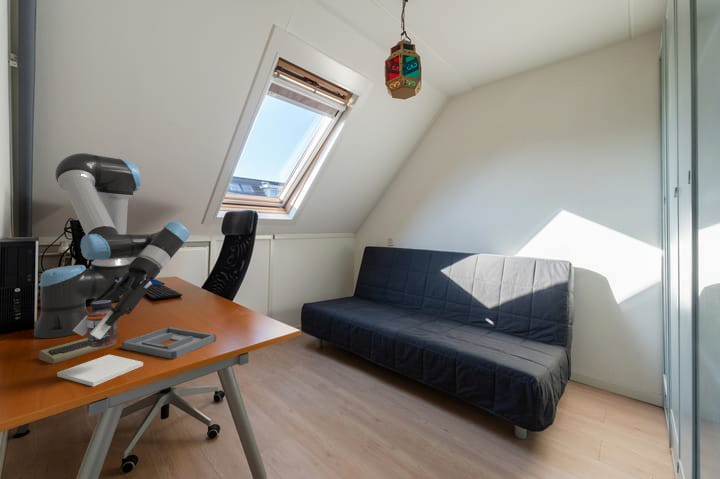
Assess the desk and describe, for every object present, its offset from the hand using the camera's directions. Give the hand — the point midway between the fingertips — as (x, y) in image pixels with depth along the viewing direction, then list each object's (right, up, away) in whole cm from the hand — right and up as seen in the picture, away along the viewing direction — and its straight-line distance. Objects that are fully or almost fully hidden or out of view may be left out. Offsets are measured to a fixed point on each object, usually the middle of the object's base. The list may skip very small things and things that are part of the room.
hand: (86, 334), depth 77 cm
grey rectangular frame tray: (+7, -10, +23) cm, 26 cm away
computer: (-17, -11, +16) cm, 26 cm away
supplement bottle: (+1, -4, +4) cm, 5 cm away
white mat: (+1, -11, +4) cm, 12 cm away
